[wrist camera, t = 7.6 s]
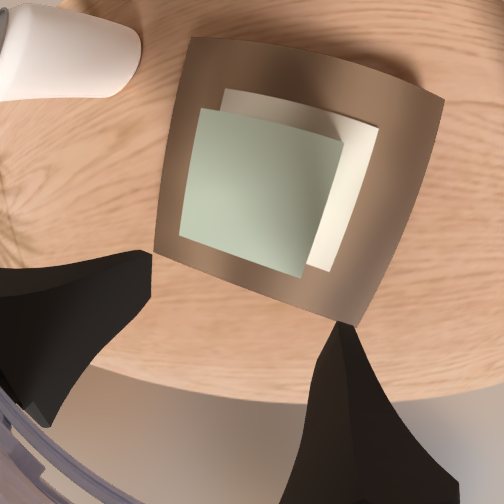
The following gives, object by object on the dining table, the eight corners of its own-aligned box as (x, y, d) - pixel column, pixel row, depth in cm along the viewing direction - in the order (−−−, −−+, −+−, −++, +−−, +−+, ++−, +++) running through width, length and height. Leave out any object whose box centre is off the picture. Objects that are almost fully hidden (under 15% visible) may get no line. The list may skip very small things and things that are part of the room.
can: (96, 111, 19) (-30, 125, 9) (85, 54, 17) (-28, 50, 7) (152, 73, 17) (7, 56, 6) (137, 14, 15) (15, -20, 4)
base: (428, 105, 13) (446, 98, 10) (355, 302, 19) (356, 329, 16) (213, 49, 15) (189, 36, 12) (175, 237, 21) (151, 253, 18)
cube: (342, 142, 12) (344, 142, 8) (313, 235, 15) (300, 278, 10) (245, 116, 13) (201, 107, 9) (225, 206, 16) (178, 235, 11)
